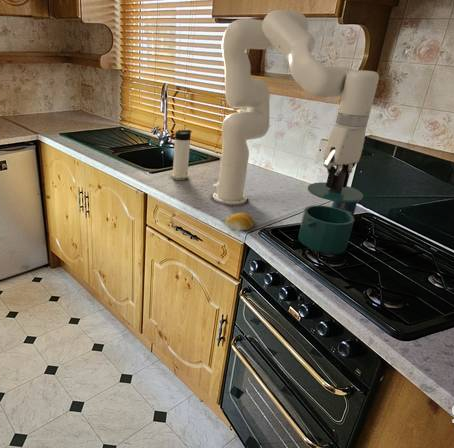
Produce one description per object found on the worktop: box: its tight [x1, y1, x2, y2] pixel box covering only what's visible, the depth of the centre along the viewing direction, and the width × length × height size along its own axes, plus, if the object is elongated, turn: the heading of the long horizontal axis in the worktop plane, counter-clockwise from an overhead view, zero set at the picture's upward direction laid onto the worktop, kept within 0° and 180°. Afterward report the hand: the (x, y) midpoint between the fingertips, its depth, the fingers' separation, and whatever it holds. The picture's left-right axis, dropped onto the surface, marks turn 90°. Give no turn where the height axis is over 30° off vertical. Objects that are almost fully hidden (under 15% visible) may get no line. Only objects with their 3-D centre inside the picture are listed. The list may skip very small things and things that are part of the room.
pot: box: [298, 205, 355, 256], centre depth 119 cm, size 14×19×10 cm
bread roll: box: [225, 212, 255, 231], centre depth 129 cm, size 8×9×4 cm
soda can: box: [331, 201, 358, 217], centre depth 132 cm, size 7×7×12 cm
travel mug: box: [171, 129, 193, 181], centre depth 166 cm, size 6×7×20 cm
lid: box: [307, 170, 364, 203], centre depth 113 cm, size 15×15×7 cm
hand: (336, 186), depth 113 cm, fingers closed on lid, 3 cm apart
